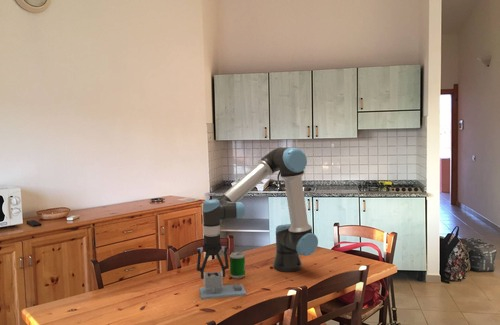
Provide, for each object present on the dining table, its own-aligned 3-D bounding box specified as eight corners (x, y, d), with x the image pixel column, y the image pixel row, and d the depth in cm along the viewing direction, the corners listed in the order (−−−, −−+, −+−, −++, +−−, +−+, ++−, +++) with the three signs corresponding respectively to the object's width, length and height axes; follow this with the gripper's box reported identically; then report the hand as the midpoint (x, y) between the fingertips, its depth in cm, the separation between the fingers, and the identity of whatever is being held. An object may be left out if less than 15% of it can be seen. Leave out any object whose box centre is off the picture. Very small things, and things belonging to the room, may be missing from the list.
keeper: (242, 286, 200) (241, 269, 199) (246, 295, 188) (246, 277, 187) (199, 289, 196) (199, 272, 196) (201, 299, 184) (200, 281, 184)
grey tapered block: (220, 282, 195) (219, 271, 195) (221, 287, 188) (221, 276, 188) (204, 283, 194) (204, 272, 194) (206, 288, 187) (205, 277, 187)
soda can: (243, 279, 209) (242, 255, 208) (228, 278, 211) (228, 255, 210) (246, 274, 216) (246, 251, 216) (232, 273, 218) (231, 250, 217)
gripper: (232, 231, 195) (233, 280, 197) (189, 234, 192) (190, 283, 193) (235, 235, 188) (236, 285, 189) (189, 237, 184) (191, 289, 186)
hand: (213, 284), depth 191 cm, fingers closed on grey tapered block, 7 cm apart
